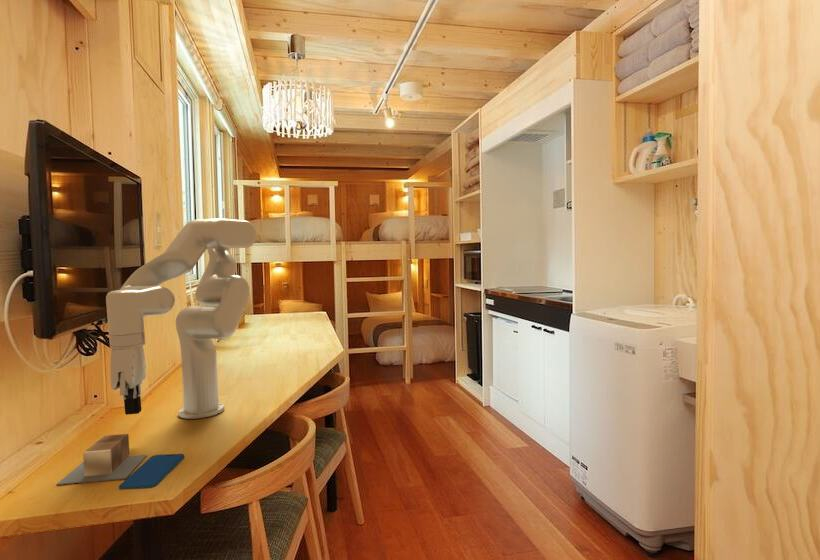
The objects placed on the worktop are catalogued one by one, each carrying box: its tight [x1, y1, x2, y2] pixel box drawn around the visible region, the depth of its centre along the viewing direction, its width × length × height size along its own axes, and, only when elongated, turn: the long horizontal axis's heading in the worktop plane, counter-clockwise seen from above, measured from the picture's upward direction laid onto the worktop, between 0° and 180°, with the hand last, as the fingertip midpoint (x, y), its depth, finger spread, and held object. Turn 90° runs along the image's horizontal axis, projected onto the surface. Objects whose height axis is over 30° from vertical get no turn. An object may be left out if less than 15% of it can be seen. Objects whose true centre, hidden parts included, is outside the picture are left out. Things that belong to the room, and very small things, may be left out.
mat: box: [56, 454, 148, 486], centre depth 105 cm, size 12×13×1 cm
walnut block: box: [82, 433, 130, 476], centre depth 107 cm, size 5×5×10 cm
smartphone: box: [118, 453, 185, 490], centre depth 104 cm, size 7×1×15 cm
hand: (133, 412), depth 120 cm, fingers closed
